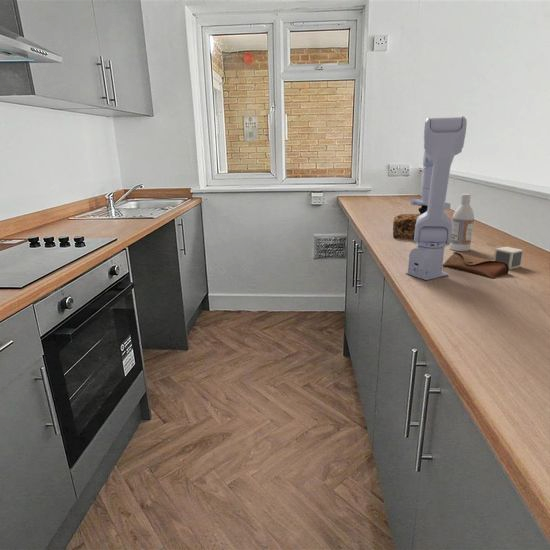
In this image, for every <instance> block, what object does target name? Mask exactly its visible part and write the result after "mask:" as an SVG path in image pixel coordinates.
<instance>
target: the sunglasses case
mask: <svg viewBox="0 0 550 550" xmlns="http://www.w3.org/2000/svg"><path fill="white" fill-rule="evenodd" d="M442 266H443V267H442V268H447V267H448V268H449V269H452V268H453V269H454V270H456V269H457V270H458V271H461V272H465V271H466V273H469V274H473V275H478V276H481V277H485V278H489V279H494V280H495V279H498V278H500V277H502V275H503V276H505V275H508V274H509V271H510V269H509V267H508V265H507V264H506V263H503V262H500V261H494V260H491V259H486V258H481V257H478V256H473V255H468V254H462V253H460V252H459V251H454V252H453V253H452V254H451V255H450V257H449V258H448V259H447V260H446V261H445V262H443V264H442ZM453 269H452V270H453Z"/></svg>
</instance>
